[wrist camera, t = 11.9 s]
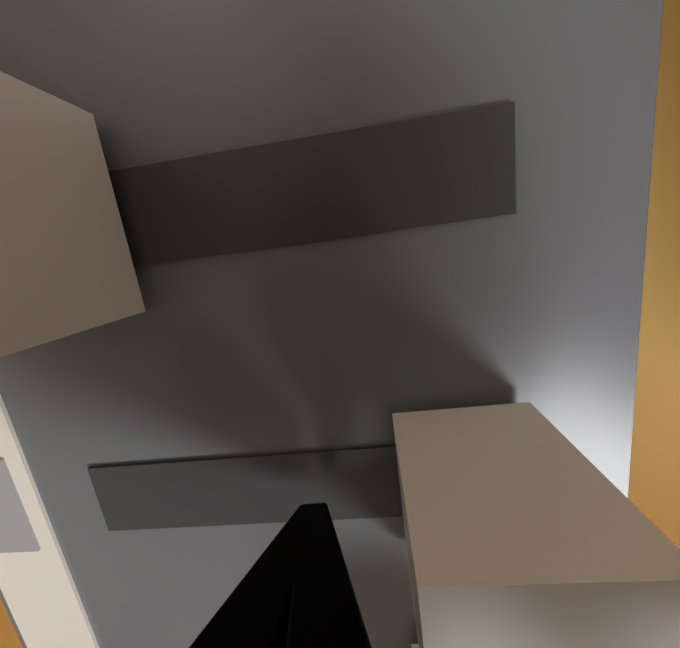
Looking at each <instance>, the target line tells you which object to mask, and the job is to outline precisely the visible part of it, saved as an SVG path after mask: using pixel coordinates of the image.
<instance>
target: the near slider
mask: <svg viewBox="0 0 680 648" xmlns="http://www.w3.org/2000/svg"><path fill="white" fill-rule="evenodd" d="M145 311H146V310H145V307H144V303H143V299H142V295H141V292H140V288H139V284H138V281H137V277H136V273H135V269H134V266H133V262H132V258H131V255H130V251H129V247H128V243H127V240H126V236H125V232H124V228H123V225H122V221H121V217H120V214H119V210H118V206H117V202H116V199H115V195H114V191H113V188H112V184H111V180H110V176H109V173H108V169H107V165H106V161H105V158H104V154H103V150H102V147H101V143H100V139H99V135H98V132H97V128H96V124H95V121H94V117H93V114H92V113H90V112H87V111H85V110H83V109H81V108H79V107H77V106H75V105H72V104H70V103H68V102H66V101H64V100H62V99H59V98H57V97H55V96H53V95H51V94H49V93H47V92H44V91H42V90H40V89H38V88H36V87H34V86H31V85H29V84H27V83H25V82H23V81H21V80H19V79H16V78H14V77H12V76H10V75H8V74H6V73H3V72H1V71H0V357H3V356H6V355H9V354H12V353H16V352H19V351H22V350H25V349H28V348H31V347H35V346H38V345H41V344H44V343H47V342H50V341H53V340H57V339H60V338H63V337H66V336H69V335H72V334H76V333H79V332H82V331H85V330H88V329H91V328H95V327H98V326H101V325H104V324H107V323H110V322H113V321H117V320H120V319H123V318H126V317H129V316H132V315H136V314H139V313H142V312H145Z"/></svg>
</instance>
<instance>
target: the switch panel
mask: <svg viewBox="0 0 680 648" xmlns="http://www.w3.org/2000/svg"><path fill="white" fill-rule="evenodd" d="M662 9H663V0H0V71H1V72H3V73H6V74H8V75H10V76H12V77H14V78H16V79H19V80H21V81H23V82H25V83H27V84H29V85H31V86H34V87H36V88H38V89H40V90H42V91H44V92H47V93H49V94H51V95H53V96H55V97H57V98H59V99H62V100H64V101H66V102H68V103H70V104H72V105H75V106H77V107H79V108H81V109H83V110H85V111H87V112H90V113H92V114H93V117H94V121H95V124H96V128H97V132H98V135H99V139H100V143H101V147H102V150H103V154H104V158H105V161H106V165H107V169H108V173H109V176H110V180H111V184H112V188H113V191H114V195H115V199H116V202H117V206H118V210H119V214H120V217H121V221H122V225H123V228H124V232H125V236H126V240H127V243H128V247H129V251H130V255H131V258H132V262H133V266H134V269H135V273H136V277H137V281H138V284H139V288H140V292H141V295H142V299H143V303H144V307H145V310H146V311H145V312H142V313H139V314H136V315H132V316H129V317H126V318H123V319H120V320H117V321H113V322H110V323H107V324H104V325H101V326H98V327H95V328H91V329H88V330H85V331H82V332H79V333H76V334H72V335H69V336H66V337H63V338H60V339H57V340H53V341H50V342H47V343H44V344H41V345H38V346H35V347H31V348H28V349H25V350H22V351H19V352H16V353H12V354H9V355H6V356H3V357H0V597H1V600H2V602H3V604H4V606H5V608H6V610H7V613H8V615H9V617H10V619H11V621H12V624H13V626H14V628H15V630H16V632H17V634H18V637H19V639H20V641H21V643H22V645H23V648H189V647H190V645H191V644H192V643H193V642H194V640H195V639H196V638H197V636H198V635H199V634H200V633H201V631H202V630H203V629H204V627H205V626H206V625H207V624H208V622H209V621H210V620H211V618H212V617H213V616H214V615H215V613H216V612H217V611H218V610H219V608H220V607H221V606H222V604H223V603H224V602H225V601H226V599H227V598H228V597H229V595H230V594H231V593H232V592H233V590H234V589H235V588H236V586H237V585H238V584H239V583H240V581H241V580H242V579H243V578H244V576H245V575H246V574H247V572H248V571H249V570H250V569H251V567H252V566H253V565H254V563H255V562H256V561H257V560H258V558H259V557H260V556H261V554H262V553H263V552H264V551H265V549H266V548H267V547H268V546H269V544H270V543H271V542H272V540H273V539H274V538H275V537H276V535H277V534H278V533H279V531H280V530H281V529H282V528H283V526H284V525H285V524H286V522H287V521H288V520H289V519H290V517H291V516H292V515H293V513H294V512H295V511H296V510H297V508H298V507H299V506H300V505H302V504H310V503H326V504H327V505H328V508H329V512H330V515H331V518H332V521H333V524H334V528H335V531H336V534H337V537H338V540H339V544H340V547H341V550H342V553H343V557H344V560H345V563H346V566H347V569H348V573H349V576H350V579H351V582H352V585H353V589H354V592H355V595H356V598H357V601H358V605H359V608H360V611H361V614H362V617H363V621H364V624H365V627H366V630H367V633H368V637H369V640H370V643H371V646H372V648H412V647H411V644H419V643H418V635H417V627H416V620H415V612H414V604H413V596H412V588H411V581H410V573H409V565H408V557H407V548H406V539H405V530H404V520H403V511H402V502H401V492H400V483H399V474H398V464H397V455H396V445H395V436H394V427H393V417H392V413H403V412H415V411H427V410H439V409H451V408H464V407H476V406H488V405H500V404H513V403H525V402H530V403H531V404H532V405H533V406H534V407H535V408H536V409H537V410H538V411H539V412H541V413H542V414H543V415H544V416H545V417H546V418H547V419H548V420H549V421H550V422H551V423H552V424H553V425H554V426H555V427H556V428H557V429H558V430H559V431H560V432H561V433H562V434H563V435H564V436H565V437H566V438H567V439H568V440H569V441H570V442H571V443H572V444H573V445H574V446H575V447H576V448H577V449H578V450H579V451H580V452H581V453H582V454H583V455H584V456H585V457H586V458H587V459H588V460H589V461H590V462H591V463H592V464H593V465H594V466H595V467H596V468H597V469H598V470H599V471H600V472H601V473H602V474H603V475H604V476H605V477H606V478H607V479H608V480H609V481H610V482H611V483H612V484H613V485H614V486H616V487H617V488H618V489H619V490H620V491H621V492H622V493H623V494H624V495H625V496H626V497H627V498H628V484H629V470H630V456H631V442H632V428H633V414H634V400H635V386H636V372H637V358H638V344H639V330H640V316H641V302H642V288H643V275H644V261H645V247H646V233H647V219H648V205H649V191H650V177H651V163H652V149H653V135H654V121H655V107H656V93H657V79H658V65H659V51H660V37H661V23H662Z"/></svg>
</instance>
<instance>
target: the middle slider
mask: <svg viewBox="0 0 680 648" xmlns="http://www.w3.org/2000/svg"><path fill="white" fill-rule="evenodd" d="M392 417H393V427H394V436H395V445H396V455H397V464H398V474H399V483H400V492H401V502H402V511H403V520H404V530H405V539H406V548H407V557H408V565H409V573H410V581H411V588H412V596H413V604H414V612H415V620H416V627H417V635H418V643H419V648H680V550H679V549H678V548H677V547H676V546H675V545H674V544H673V543H672V542H671V541H670V540H669V539H668V538H667V537H666V536H665V535H664V534H663V533H662V532H661V531H660V530H659V529H658V528H657V527H656V526H655V525H654V524H653V523H652V522H651V521H650V520H649V519H648V518H647V517H646V516H645V515H644V514H643V513H642V512H641V511H640V510H639V509H638V508H637V507H636V506H635V505H634V504H633V503H632V502H631V501H630V500H629V499H628V498H627V497H626V496H625V495H624V494H623V493H622V492H621V491H620V490H619V489H618V488H617V487H616V486H614V485H613V484H612V483H611V482H610V481H609V480H608V479H607V478H606V477H605V476H604V475H603V474H602V473H601V472H600V471H599V470H598V469H597V468H596V467H595V466H594V465H593V464H592V463H591V462H590V461H589V460H588V459H587V458H586V457H585V456H584V455H583V454H582V453H581V452H580V451H579V450H578V449H577V448H576V447H575V446H574V445H573V444H572V443H571V442H570V441H569V440H568V439H567V438H566V437H565V436H564V435H563V434H562V433H561V432H560V431H559V430H558V429H557V428H556V427H555V426H554V425H553V424H552V423H551V422H550V421H549V420H548V419H547V418H546V417H545V416H544V415H543V414H542V413H541V412H539V411H538V410H537V409H536V408H535V407H534V406H533V405H532V404H531V403H530V402H525V403H513V404H500V405H488V406H476V407H464V408H451V409H439V410H427V411H415V412H403V413H392Z"/></svg>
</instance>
